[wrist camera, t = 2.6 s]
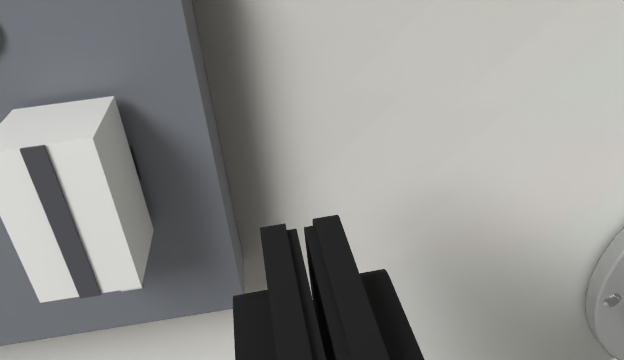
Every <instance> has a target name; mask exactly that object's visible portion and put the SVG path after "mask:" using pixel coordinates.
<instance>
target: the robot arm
mask: <svg viewBox="0 0 624 360" xmlns="http://www.w3.org/2000/svg"><path fill="white" fill-rule="evenodd" d="M260 232H261V240H262V248H263V255H264V263H265V271H266V279H267V286H268V290H263V291H258V292H252V293H246V294H241V295H235V296H233V317H234V339H235V360H424V358H423V355H422V353H421V351H420V348H419V346H418V343H417V341H416V339H415V336H414V334H413V332H412V329H411V327H410V325H409V322H408V320H407V317H406V315H405V313H404V310H403V308H402V306H401V303H400V301H399V299H398V296H397V294H396V291H395V289H394V287H393V284H392V282H391V280H390V277H389V275H388V273H387V271H386V270H385V269H382V270H377V271H371V272H365V273H360V274H359V272H358V269H357V266H356V263H355V260H354V258H353V255H352V252H351V249H350V246H349V243H348V241H347V238H346V235H345V232H344V229H343V226H342V224H341V221H340V218H339V216H338V215H334V216H328V217H322V218H316V219H313V226H309V227H304V233H305V241H306V249H307V258H308V266H309V274H310V282H311V290H312V295H311V291H310V287H309V282H308V278H307V273H306V269H305V265H304V260H303V256H302V251H301V247H300V243H299V238H298V234H297V230H296V229H291V230H286V225H285V224H280V225H274V226H268V227H262V228H260ZM312 298H313V300H312ZM586 315H587V319H588V323H589V327H590V328H591V330H592V332H593V333H594V335H595V336H596V338H597V339H598V341H599V342H600V343H601V344H602V345H603V347H604V348H605V349H606V350H607V351H608V352H609V354H610V355H612V356H613V357H615V358H616V359H618V360H624V228H623V229H622V230H621V231H620V232H619V233H618V234H617V236H616V237H615V238H614V239H613V240H612V242H611V243H610V245H609V246H608V248H607V249H606V250H605V252H604V253H603V255H602V256H601V258H600V260H599V262H598V264H597V266H596V268H595V270H594V272H593V274H592V276H591V279H590V283H589V286H588V290H587V294H586Z"/></svg>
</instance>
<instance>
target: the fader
mask: <svg viewBox="0 0 624 360" xmlns="http://www.w3.org/2000/svg"><path fill="white" fill-rule="evenodd" d="M0 217H1V219H2V221H3V223H4V225H5V227H6V230H7V232H8V234H9V236H10V238H11V241H12V243H13V245H14V247H15V249H16V251H17V254H18V256H19V258H20V260H21V262H22V264H23V267H24V269H25V271H26V273H27V275H28V277H29V280H30V282H31V284H32V286H33V288H34V290H35V293H36V295H37V297H38V299H39V301H40V303H42V302H48V301H55V300H61V299H68V298H74V297H80V299H81V298H88V297H94V296H101V293H106V292H113V291H119V290H126V289H132V288H138V287H142V283H143V278H144V273H145V269H146V264H147V259H148V255H149V250H150V245H151V241H152V236H153V231H154V229H153V226H152V223H151V219H150V216H149V212H148V209H147V206H146V202H145V199H144V195H143V192H142V189H141V185H140V182H139V178H138V175H137V172H136V168H135V165H134V161H133V158H132V155H131V151H130V148H129V144H128V141H127V138H126V134H125V131H124V127H123V124H122V121H121V117H120V114H119V110H118V107H117V104H116V100H115V97H114V96H110V97H103V98H95V99H88V100H80V101H73V102H65V103H57V104H50V105H42V106H35V107H27V108H20V109H13V110H12V111H11V112H10V113H9V114H8V115H7V117H6V118H5V119H4V120H3V121H2V122H1V123H0Z"/></svg>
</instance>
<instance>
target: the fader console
mask: <svg viewBox="0 0 624 360" xmlns="http://www.w3.org/2000/svg"><path fill="white" fill-rule="evenodd" d="M110 96H114V97H115V100H116V104H117V107H118V110H119V114H120V117H121V121H122V124H123V127H124V131H125V134H126V138H127V141H128V144H129V148H130V151H131V155H132V158H133V161H134V165H135V168H136V172H137V175H138V178H139V182H140V185H141V189H142V192H143V195H144V199H145V202H146V206H147V209H148V212H149V216H150V219H151V223H152V226H153V229H154V231H153V236H152V241H151V245H150V250H149V255H148V259H147V264H146V269H145V273H144V278H143V283H142V287H138V288H132V289H126V290H119V291H113V292H106V293H101V296H94V297H88V298H81V299H80V297H74V298H68V299H61V300H55V301H48V302H42V303H40V301H39V299H38V297H37V295H36V293H35V290H34V288H33V286H32V284H31V282H30V280H29V277H28V275H27V273H26V271H25V269H24V267H23V264H22V262H21V260H20V258H19V256H18V254H17V251H16V249H15V247H14V245H13V243H12V241H11V238H10V236H9V234H8V232H7V230H6V227H5V225H4V223H3V221H2V219H1V217H0V346H2V345H8V344H14V343H21V342H27V341H33V340H40V339H46V338H52V337H58V336H65V335H71V334H77V333H83V332H90V331H96V330H102V329H108V328H115V327H121V326H127V325H133V324H140V323H146V322H152V321H159V320H165V319H171V318H177V317H184V316H190V315H196V314H202V313H209V312H215V311H221V310H227V309H233V296H235V295H241V294H244V263H243V256H242V251H241V246H240V241H239V236H238V231H237V226H236V221H235V215H234V210H233V205H232V200H231V195H230V190H229V185H228V180H227V175H226V170H225V165H224V160H223V155H222V150H221V145H220V140H219V135H218V130H217V125H216V120H215V115H214V110H213V105H212V100H211V95H210V90H209V85H208V80H207V75H206V70H205V65H204V60H203V55H202V50H201V45H200V40H199V35H198V30H197V25H196V20H195V15H194V10H193V5H192V0H0V123H1V122H2V121H3V120H4V119H5V118H6V117H7V115H8V114H9V113H10V112H11V111H12V110H13V109H20V108H27V107H35V106H42V105H50V104H57V103H65V102H73V101H80V100H88V99H95V98H103V97H110Z"/></svg>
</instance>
